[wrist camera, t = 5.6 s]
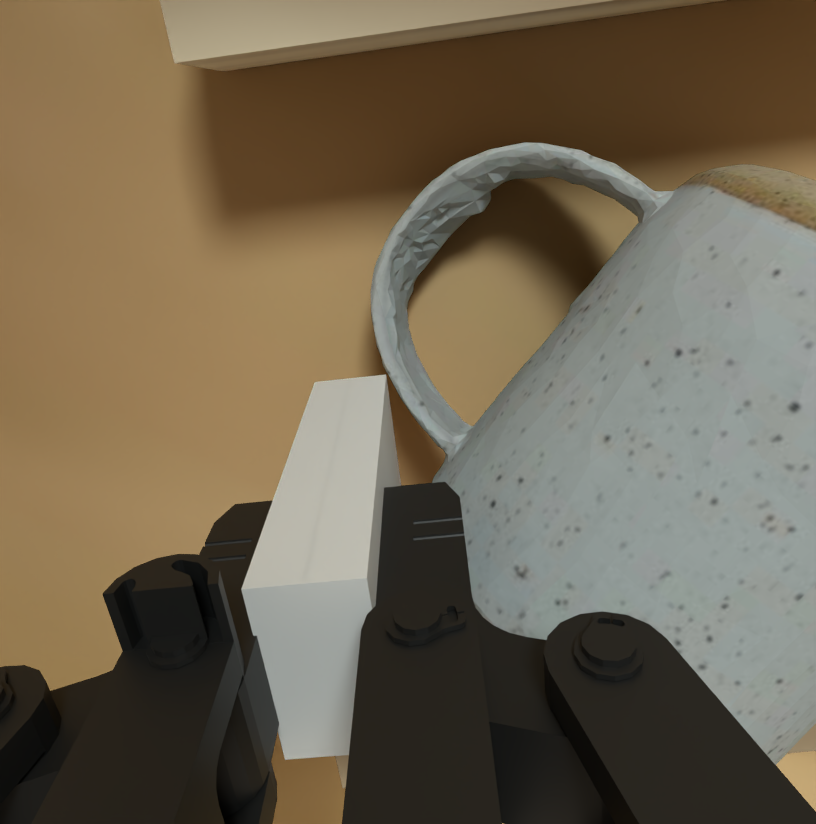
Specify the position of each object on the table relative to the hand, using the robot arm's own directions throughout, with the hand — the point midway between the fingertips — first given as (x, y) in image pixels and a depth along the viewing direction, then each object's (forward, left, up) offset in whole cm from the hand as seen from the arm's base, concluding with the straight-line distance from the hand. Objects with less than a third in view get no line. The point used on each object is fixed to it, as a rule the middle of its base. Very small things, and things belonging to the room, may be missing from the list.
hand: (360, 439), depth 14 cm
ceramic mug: (0, +5, -2) cm, 6 cm away
